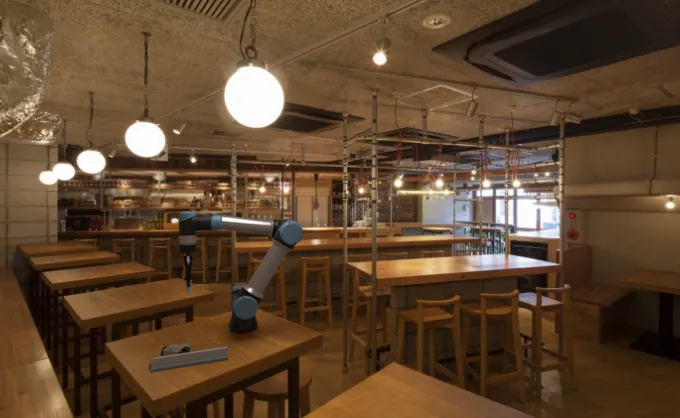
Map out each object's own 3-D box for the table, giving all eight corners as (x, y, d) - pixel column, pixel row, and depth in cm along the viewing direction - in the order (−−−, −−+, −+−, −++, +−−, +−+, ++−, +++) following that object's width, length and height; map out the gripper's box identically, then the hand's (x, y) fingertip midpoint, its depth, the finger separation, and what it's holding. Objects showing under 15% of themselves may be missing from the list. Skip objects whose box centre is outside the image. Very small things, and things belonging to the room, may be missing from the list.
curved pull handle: (225, 351, 174) (225, 342, 174) (228, 359, 165) (228, 350, 165) (152, 362, 162) (152, 353, 162) (150, 372, 154) (150, 362, 153)
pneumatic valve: (198, 353, 172) (180, 364, 161) (176, 350, 175) (157, 361, 164) (198, 341, 172) (180, 351, 160) (176, 338, 175) (157, 348, 164)
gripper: (179, 242, 185) (180, 290, 186) (179, 246, 173) (180, 297, 174) (195, 241, 188) (196, 289, 189) (196, 245, 176) (197, 295, 177)
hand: (188, 293), depth 182 cm, fingers closed
